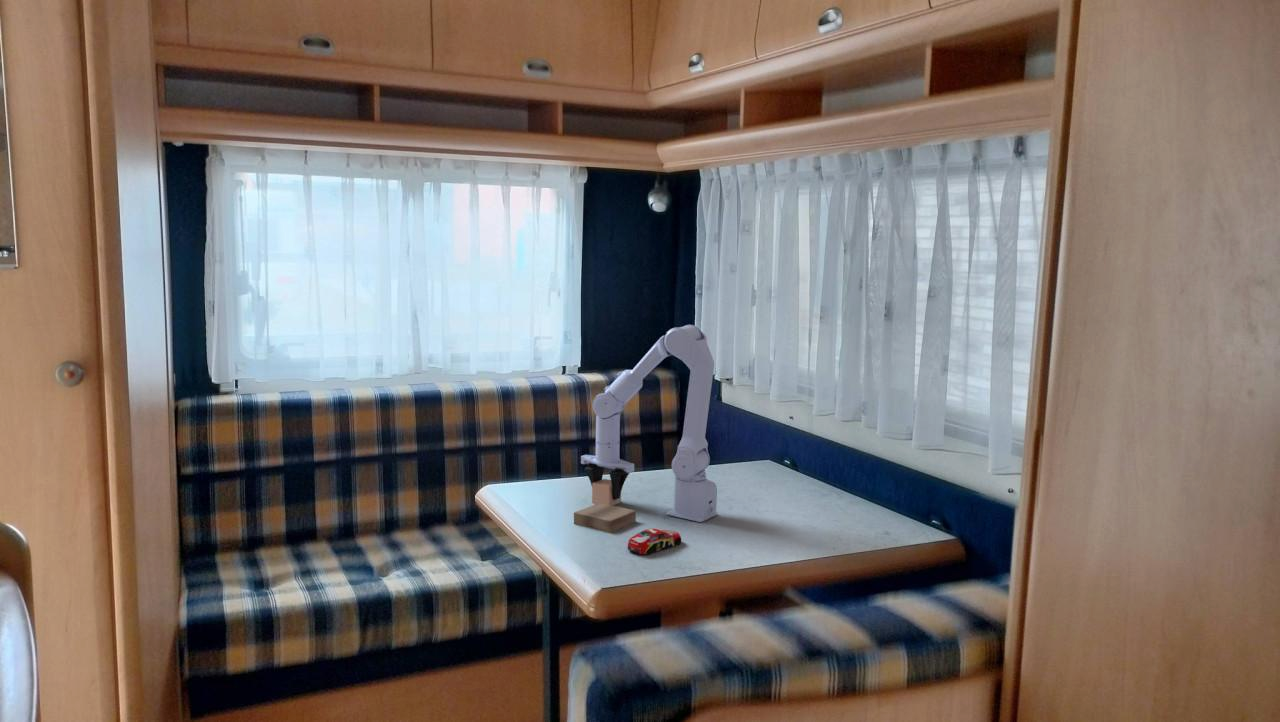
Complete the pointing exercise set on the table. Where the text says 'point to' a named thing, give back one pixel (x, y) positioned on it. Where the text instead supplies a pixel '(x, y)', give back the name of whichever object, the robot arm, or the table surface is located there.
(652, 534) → the race car
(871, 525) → the table surface
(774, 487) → the table surface
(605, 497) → the terracotta cube
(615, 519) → the walnut base block
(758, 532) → the table surface
